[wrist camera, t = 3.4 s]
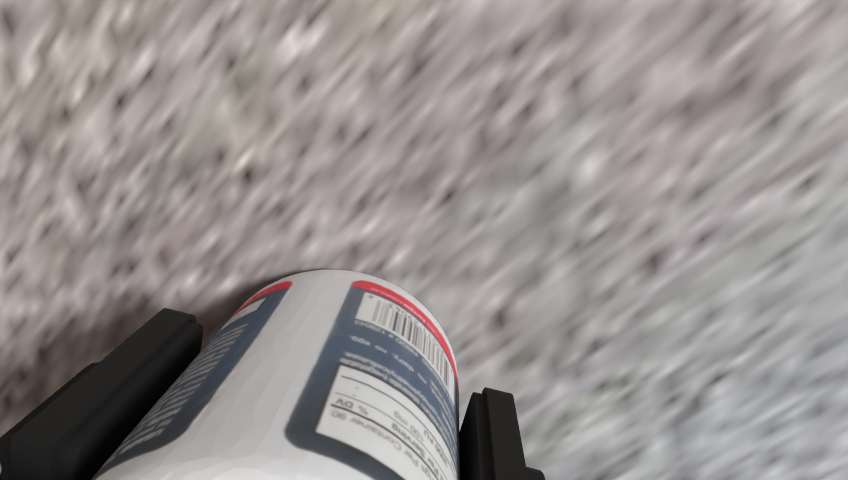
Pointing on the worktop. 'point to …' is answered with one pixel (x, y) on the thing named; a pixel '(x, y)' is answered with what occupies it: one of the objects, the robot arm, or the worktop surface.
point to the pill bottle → (308, 392)
